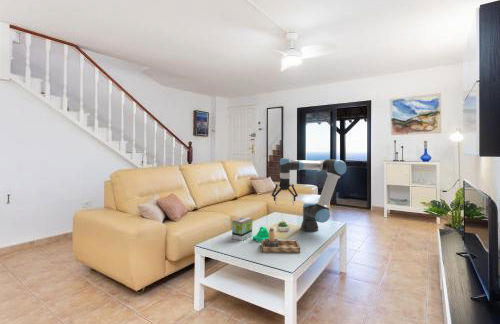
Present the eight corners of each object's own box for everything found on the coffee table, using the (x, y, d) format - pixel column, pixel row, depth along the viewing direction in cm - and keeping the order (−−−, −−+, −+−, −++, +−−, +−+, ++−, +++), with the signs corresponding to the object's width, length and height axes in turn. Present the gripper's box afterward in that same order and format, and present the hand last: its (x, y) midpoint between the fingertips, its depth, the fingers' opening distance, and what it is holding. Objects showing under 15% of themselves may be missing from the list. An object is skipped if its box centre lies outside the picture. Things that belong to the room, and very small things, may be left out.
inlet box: (296, 245, 191) (296, 237, 191) (300, 252, 177) (300, 244, 177) (261, 244, 191) (261, 237, 191) (261, 252, 177) (261, 244, 177)
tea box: (242, 241, 199) (242, 222, 198) (231, 238, 204) (231, 220, 203) (252, 235, 211) (252, 217, 211) (242, 233, 217) (242, 215, 216)
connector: (274, 246, 186) (274, 227, 185) (274, 248, 182) (274, 229, 181) (268, 246, 186) (268, 227, 186) (268, 248, 182) (269, 229, 182)
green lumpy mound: (252, 240, 201) (252, 227, 201) (257, 237, 208) (257, 224, 207) (265, 243, 195) (265, 229, 194) (270, 240, 201) (270, 227, 201)
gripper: (300, 177, 205) (299, 204, 206) (268, 177, 205) (268, 203, 207) (301, 178, 197) (301, 206, 198) (268, 178, 198) (268, 206, 199)
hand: (284, 205), depth 202 cm, fingers open, 13 cm apart
